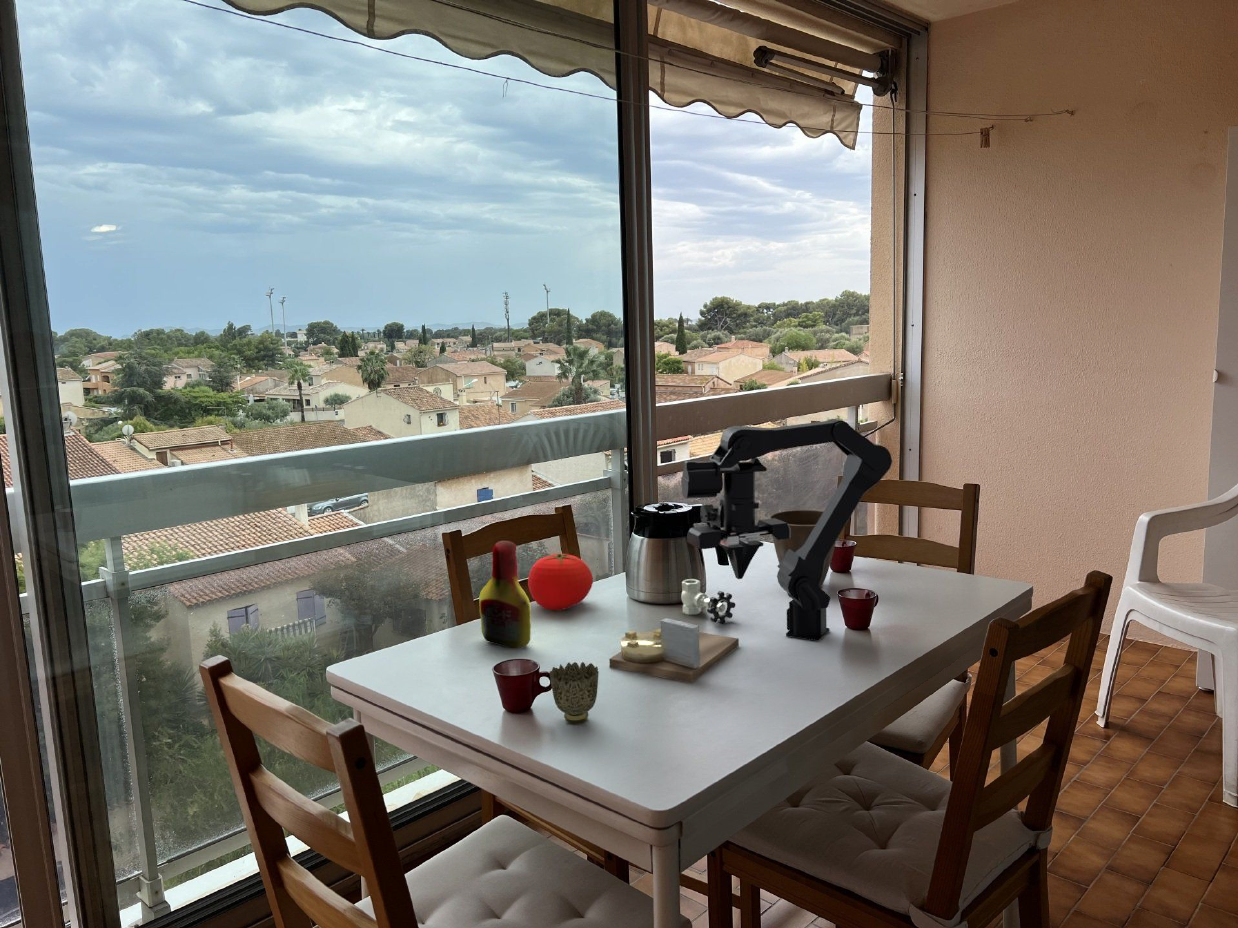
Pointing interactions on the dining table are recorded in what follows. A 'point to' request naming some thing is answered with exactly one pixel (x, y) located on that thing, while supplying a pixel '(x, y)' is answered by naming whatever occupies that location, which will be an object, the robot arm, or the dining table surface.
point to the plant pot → (799, 534)
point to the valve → (705, 601)
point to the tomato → (559, 581)
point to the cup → (575, 690)
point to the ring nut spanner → (664, 644)
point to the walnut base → (710, 654)
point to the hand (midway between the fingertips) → (739, 578)
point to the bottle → (505, 601)
